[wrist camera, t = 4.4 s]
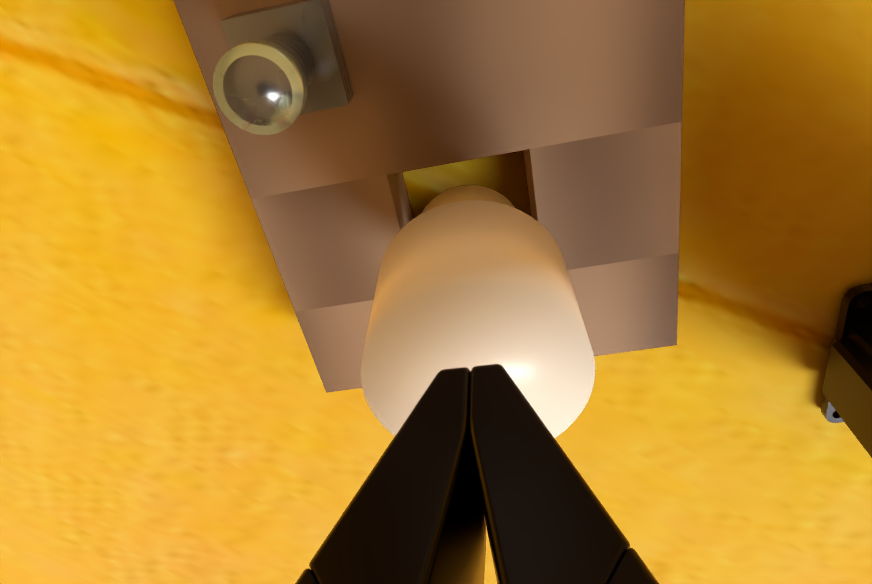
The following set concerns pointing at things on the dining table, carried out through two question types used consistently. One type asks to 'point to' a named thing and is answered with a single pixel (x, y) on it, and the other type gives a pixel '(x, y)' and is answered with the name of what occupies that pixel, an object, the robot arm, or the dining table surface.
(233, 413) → the dining table surface
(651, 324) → the mount
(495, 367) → the robot arm
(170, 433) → the dining table surface
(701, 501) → the dining table surface
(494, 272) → the knob
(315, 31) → the potentiometer
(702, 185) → the dining table surface
